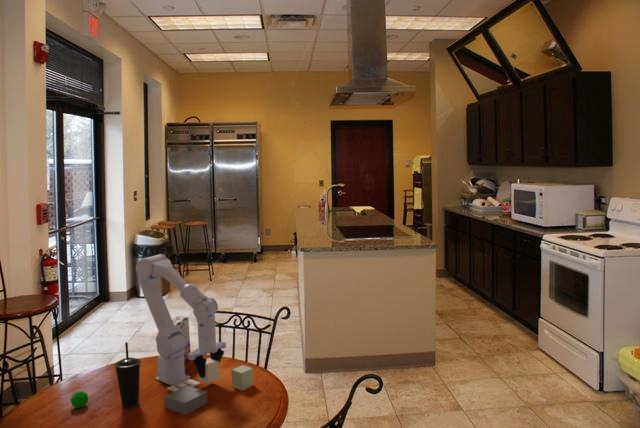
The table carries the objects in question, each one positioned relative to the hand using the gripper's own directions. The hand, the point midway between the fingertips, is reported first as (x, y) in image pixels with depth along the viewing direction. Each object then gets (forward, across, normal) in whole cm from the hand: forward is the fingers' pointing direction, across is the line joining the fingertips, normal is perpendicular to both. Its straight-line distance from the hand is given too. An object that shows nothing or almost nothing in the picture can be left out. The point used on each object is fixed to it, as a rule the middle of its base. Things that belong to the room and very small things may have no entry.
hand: (208, 374), depth 175 cm
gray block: (+4, -14, -6) cm, 16 cm away
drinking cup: (+4, -24, +9) cm, 26 cm away
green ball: (+4, -34, +21) cm, 40 cm away
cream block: (+2, 0, 0) cm, 2 cm away
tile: (+4, -6, +6) cm, 9 cm away
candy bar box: (+4, +7, +26) cm, 27 cm away
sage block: (+4, +6, -10) cm, 12 cm away
